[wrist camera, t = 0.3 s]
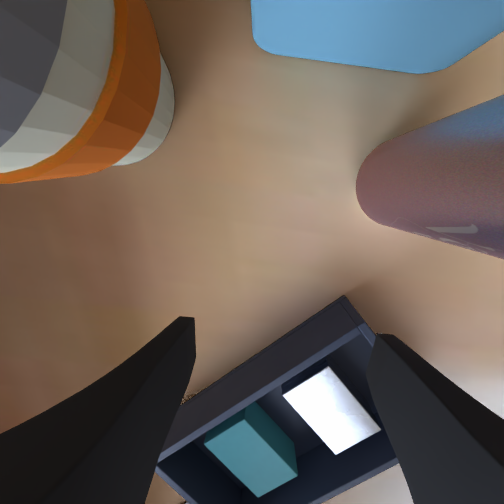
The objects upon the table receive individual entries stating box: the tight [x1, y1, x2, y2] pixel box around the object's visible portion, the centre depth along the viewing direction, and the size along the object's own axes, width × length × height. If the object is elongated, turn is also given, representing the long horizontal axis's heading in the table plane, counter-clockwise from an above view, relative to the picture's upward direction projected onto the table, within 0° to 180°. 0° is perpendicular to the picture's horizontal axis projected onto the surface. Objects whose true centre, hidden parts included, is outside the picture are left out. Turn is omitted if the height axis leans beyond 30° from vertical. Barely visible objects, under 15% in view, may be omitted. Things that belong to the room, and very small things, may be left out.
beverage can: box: [356, 95, 504, 259], centre depth 11 cm, size 6×6×15 cm
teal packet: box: [204, 401, 298, 497], centre depth 22 cm, size 4×7×3 cm, turn 39°
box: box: [155, 295, 399, 504], centre depth 21 cm, size 20×11×4 cm, turn 129°
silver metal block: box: [281, 354, 381, 455], centre depth 20 cm, size 4×7×3 cm, turn 39°
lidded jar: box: [0, 0, 175, 184], centre depth 10 cm, size 13×13×15 cm
